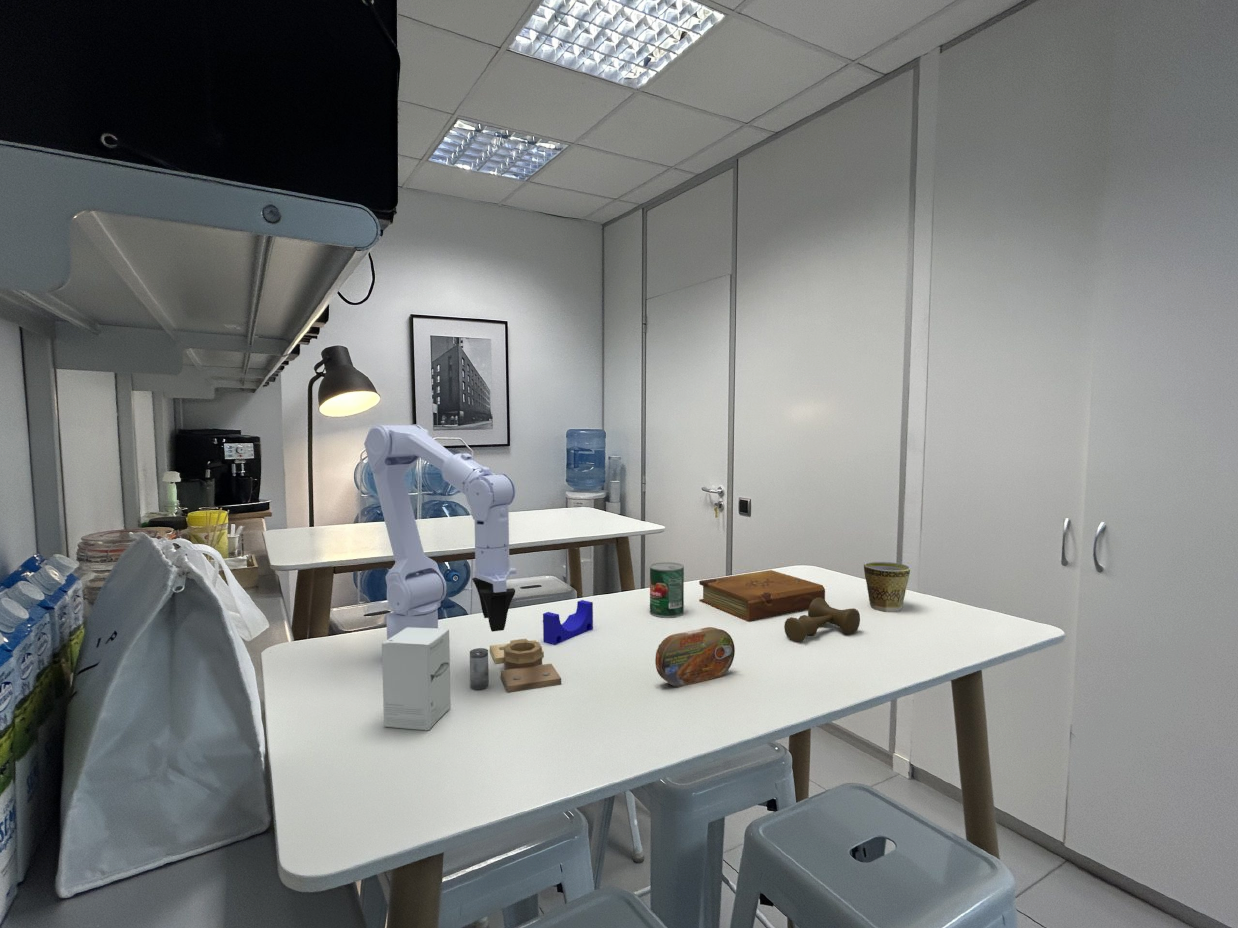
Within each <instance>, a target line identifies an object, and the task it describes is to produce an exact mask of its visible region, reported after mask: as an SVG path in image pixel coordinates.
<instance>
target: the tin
mask: <svg viewBox="0 0 1238 928" xmlns="http://www.w3.org/2000/svg"><path fill="white" fill-rule="evenodd" d="M655 651H656V652H655V660H654V661H655V662H654V663H655V668H656V672H657V674H658V675H659V677H660V678H661V679H662V680H664V681H665V682H667V683H668V684H669V685H671V686H674V687H677V688H682V687H686V686H691V685H693V684H698V683H701V682H706V681H709V680H714V679H717V678H720V677H722V676H724V675H725V674H726V673H727V672H728V671H729V670H730V668H731V666H732V665H733V661H734V660H735V654H736V653H735V652H736V648H735V642H734V639H733V638H732V636H731V634H729V632H727V631H726V630H723V629H721V628H716V627H712V626H711V627H710V626H709V627H708V626H707V627H703V628H698V629H697V628H696V629H694V630H693V629H692V630H688V631H683V632H678V633H674V634H671V635H668V636H667V637H665V638H664V639H663V640H661V643H660V644H659V645H658V647H657V649H656V650H655Z"/></svg>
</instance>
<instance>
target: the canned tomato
mask: <svg viewBox="0 0 1238 928" xmlns="http://www.w3.org/2000/svg"><path fill="white" fill-rule="evenodd" d="M684 570H685V566H684V565H683V564H682V563H679V562H678V563H677V562H671V561H670V562H666V561H664V562H663V561H661V562H655V563H652V564H651V563H650V565H649V614H650V615H652V616H654V617H657V618H664V619H668V618H669V619H670V618H678V617H681V616H682V615H684V612H685V611H684V610H685V609H684V608H685V605H684V602H685V601H684V600H685V596H684V595H685V594H684V593H685V591H684V589H685V587H684V582H685V581H684V580H685V579H684V577H685V572H684Z"/></svg>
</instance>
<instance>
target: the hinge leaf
mask: <svg viewBox="0 0 1238 928" xmlns="http://www.w3.org/2000/svg"><path fill="white" fill-rule="evenodd" d="M489 652H490V654H491V657H492V659H493V661H494V664H498V665H499V664H504V658H505V660H506V662H511V663H517V664H522V663H529V662H535V661H536V660H538V659H539V658H541V657H542V658H545V657H544V655H545V654H544V650H543V647H542V645H541V643H540V642H538V641H537V639H533V640H528V638H520V639H513V640H510V642H509V643H502V644H494V645H492V644H491V645H489Z"/></svg>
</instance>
